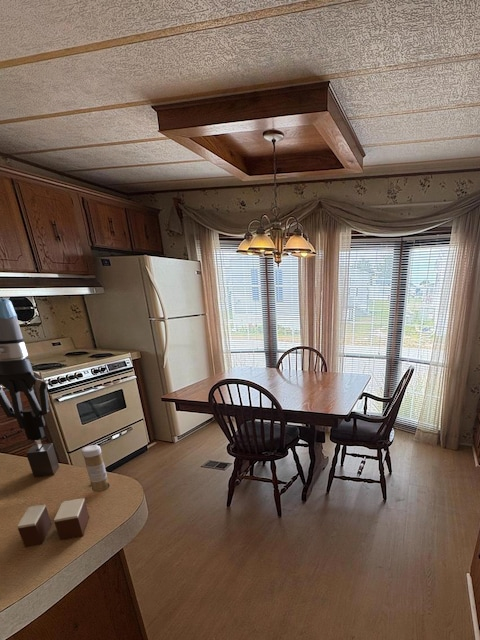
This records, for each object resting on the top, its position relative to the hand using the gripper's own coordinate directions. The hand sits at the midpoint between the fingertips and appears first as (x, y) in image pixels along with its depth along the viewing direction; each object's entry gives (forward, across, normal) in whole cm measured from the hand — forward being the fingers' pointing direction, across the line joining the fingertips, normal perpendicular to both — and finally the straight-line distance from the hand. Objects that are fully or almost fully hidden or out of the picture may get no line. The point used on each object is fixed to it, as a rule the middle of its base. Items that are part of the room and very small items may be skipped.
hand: (36, 437), depth 102 cm
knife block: (+14, 0, 0) cm, 14 cm away
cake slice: (+14, +6, -32) cm, 35 cm away
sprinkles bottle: (+14, +16, -13) cm, 25 cm away
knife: (+11, 0, 0) cm, 11 cm away
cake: (+14, +13, -32) cm, 37 cm away
